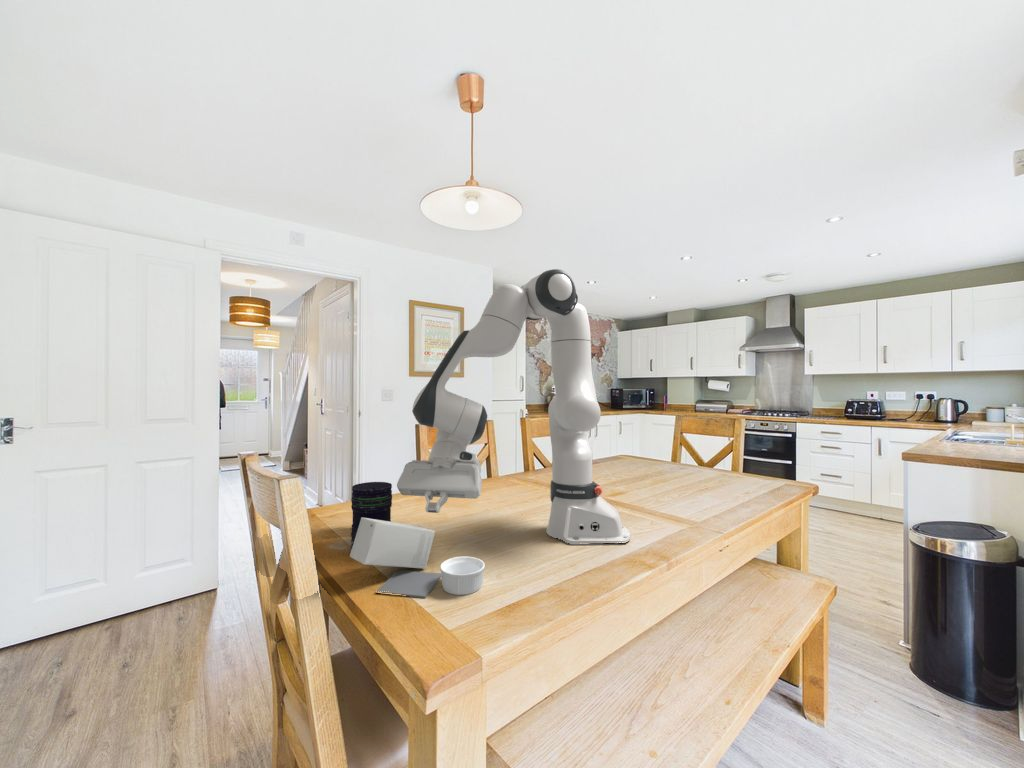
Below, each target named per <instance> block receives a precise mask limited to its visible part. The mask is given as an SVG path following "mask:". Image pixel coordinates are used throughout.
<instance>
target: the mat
mask: <svg viewBox="0 0 1024 768" xmlns="http://www.w3.org/2000/svg"><path fill="white" fill-rule="evenodd" d="M441 579H442V575H441V572H425V571H415V570H414V571H412V570H401V569H399V570H396V572H395V573H393V574H392V575H391V576H390V577H389V578H388V579H387V580H386V581H385V582H384V583H383V584H382V585H381V586H380V587H379V588H378V589H377V590H376V591H377V592H378V591H379V592H380V591H381V592H382V591H383V592H382V593H392V594H401V595H406V596H410V597H409V598H419V599H426V598H427V596H428V595H429V594H430V592H431V591H432V590H433V589H434V587H435V586H436V585H437V583H438V582H439V581H440V580H441ZM384 591H385V592H384ZM386 591H387V592H386ZM388 591H389V592H388Z"/></svg>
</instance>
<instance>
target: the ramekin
mask: <svg viewBox="0 0 1024 768" xmlns="http://www.w3.org/2000/svg"><path fill="white" fill-rule="evenodd" d="M485 565H486V564H485V562H484V561H483V560H482V559H480V558H478V557H474V556H467V555H465V556H454V557H450V558H448V559H446V560H444V561H442V563H441V564H440V566H439V571H440V573H441V575H442V577H441V585H442V589H443V590H444V591H445V592H446V593H447V594H450V595H454V596H467V595H470V594H474V593H476V592H478V591H479V590H480V589H481V588H482V586H483V582H484V571H485V568H486V567H485Z"/></svg>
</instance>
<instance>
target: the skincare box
mask: <svg viewBox="0 0 1024 768" xmlns="http://www.w3.org/2000/svg"><path fill="white" fill-rule="evenodd" d="M435 534H436V531H435V530H433V529H430V528H427V527H425V526H421V525H415V524H410V523H409V524H408V523H402V522H394V521H391V522H390V521H383V520H376V519H369V518H362V517H361V521H360V524H359V527H358V531H357V534H356V537H355V540H354V544H353V547H352V548H351V550H350V554H349V557H350V558H351V559H352V560H355V561H357V562H358V563H361V564H362V565H367V566H382V567H398V568H409V569H410V568H412V569H427V566H428V561H429V557H430V554H431V550H432V547H433V542H434V538H435Z"/></svg>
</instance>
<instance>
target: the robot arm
mask: <svg viewBox="0 0 1024 768" xmlns="http://www.w3.org/2000/svg"><path fill="white" fill-rule="evenodd" d="M576 289H577V288H576V286H575V282H574V281H573V279H572V277H571V275H570V274H569V273H568V272H567V271H565V270H562V269H557V268H555V269H549V270H546V271H543V272H542V273H540V274H538V275H535V276H534V277H533V278H531V279H530V280H529V281H528V282H527V283H525V284H523V285H522V286H521V287H519V286H518V285H517V284H512V283H503V284H501V285H499V286H497V288H496V289H495V290H494V291H493V293H492V295H491V296H490V298H489V300H488V302H487V304H486V305H485V308H484V309H483V312H482V314H481V316H480V318H479V321H478V322H477V324H476V325H475V326H474V327H473V328H471V329H468V330H467V329H466V330H464V331H462V332H461V333H460V334H459V335H458V336H457V337H456V338H455V340H454V342H453V344H452V345H451V347H450V348H449V349H448V351H447V352H446V354H445V355H444V357H443V358H442V360H441V362H440V363H439V364H438V366H437V368H436V369H435V371H434V372H433V375H432V376H431V377H430V379H429V381H428V382H427V384H426V385H425V386H424V387H423V388H421V391H420V392H419V393H417V396H416V397H415V398H414V399H415V400H414V401H413V405H412V414H413V417H414V418H415V420H416V421H417V423H418V424H419V425H422V426H426V427H429V428H435V429H437V432H436V436H435V437H436V439H435V442H434V443H433V445H432V447H431V451H430V453H429V456H428V460H418V459H417V460H416V459H414V460H411V461H409V462H407V463H406V464H405V465H404V468H403V471H402V473H401V474H400V476H399V478H398V480H397V484H396V487H397V490H398V491H399V493H400V494H401V495H402V496H411V497H412V496H414V497H416V496H417V497H424V498H425V500H426V505H425V512H426V513H433V514H434V513H435V514H440V512H441V508H442V507H443V506H444V505H445V504H446V503H447V501H448V500H449V498H450V499H451V498H453V499H455V498H456V499H471V500H472V499H473V500H475V499H478V498H479V497H480V496H481V495H482V494H481V493H482V486H483V484H482V483H483V481H482V480H483V479H482V475H481V472H482V469H481V468H482V467H481V466H482V465H481V461H480V460H479V458H478V456H477V454H475V453H472V452H470V451H467V450H466V449H467V447H468V446H470V445H473V444H474V443H475V442H477V441H479V440H480V439H481V438H482V436H483V435H484V431H485V428H486V424H487V420H488V413H487V410H486V408H485V406H484V405H483V404H481V403H479V402H477V401H475V400H472V399H469V398H466V397H463V396H461V395H458V394H456V393H453V392H451V391H448V390H447V389H446V387H445V386H446V385H447V383H448V381H449V380H450V378H451V376H452V375H453V373H454V372H455V370H456V369H457V367H458V365H459V364H460V363H461V361H462V360H464V359H468V358H498V357H502V356H505V355H507V354H509V353H510V352H511V351H512V350H513V348H514V347H515V345H516V343H517V342H518V340H519V337H520V334H521V332H522V328H523V326H524V323H525V322H526V320H528V321H538V320H541V319H544V318H546V320H547V322H548V324H549V327H550V331H551V332H550V350H551V351H550V354H551V357H550V358H551V363H550V364H551V374H552V378H553V383H554V390H555V396H554V397H553V398H552V399H551V400H550V402H549V405H548V408H547V410H548V411H547V412H548V423H549V424H548V425H549V435H550V444H551V453H552V454H551V455H552V457H551V458H552V459H551V460H552V461H551V462H552V463H551V464H552V465H551V468H552V469H551V471H552V475H551V477H552V478H551V480H550V485H549V489H550V490H549V492H550V493H549V495H550V496H549V497H550V501H551V505H550V512H549V519H548V524H547V527H546V530H545V531H546V534H547V535H548V536H550V537H551V536H552V538H554V539H556V538H558V539H557V540H560V539H561V540H560V541H562V540H563V541H562V542H564V541H565V542H564V543H566V542H567V543H566V544H568V543H571V544H570V545H581V544H580V543H617V542H618V543H619V542H621V543H622V542H626V541H628V540H629V539H630V540H631V534H630V531H629V529H628V528H627V527H626V526H624V525H622V519H621V516H620V513H619V512H618V510H617V509H616V508H615V507H614V506H613V505H611V504H610V503H609V502H608V501H606V499H604V498H603V497H601V495H602V494H603V488H602V487H601V485H600V484H598V482H594V480H593V451H592V448H591V443H590V438H589V433H588V432H589V431H591V430H592V429H595V428H596V426H597V425H598V424H599V422H600V420H601V415H602V413H601V412H602V411H601V407H600V405H599V402H598V398H597V390H596V386H595V380H594V376H593V369H592V368H593V367H592V338H591V337H592V336H591V327H590V326H591V325H590V320H589V315H588V310H587V309H586V307H585V306H584V305H583V304H582V303H580V302H579V303H578V299H579V298H578V294H577V290H576ZM435 497H436V498H439V499H438V500H437V501H436V502H432V501H433V500H434V498H435Z"/></svg>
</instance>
